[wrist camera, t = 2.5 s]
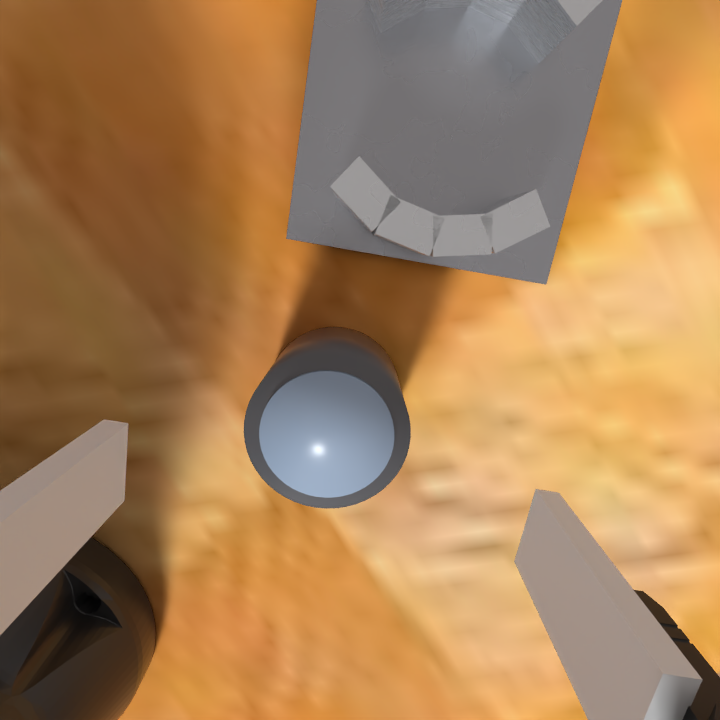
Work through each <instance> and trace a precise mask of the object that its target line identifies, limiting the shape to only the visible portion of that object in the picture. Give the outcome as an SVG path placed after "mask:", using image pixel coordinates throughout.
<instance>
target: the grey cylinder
mask: <svg viewBox="0 0 720 720" xmlns="http://www.w3.org/2000/svg"><path fill="white" fill-rule="evenodd" d="M244 438H245V444H246V449H247V452H248V455H249V457H250V460H251V462H252V464H253V466H254V467H255V469H256V471H257V472H258V473H259V475H260V476H261V478H262V479H263V480H264V481H265V482H266V483H267V484H268V485H269V486H270V487H271V488H273V489H274V490H275V491H276V492H278V493H279V494H281V495H283V496H284V497H286V498H288V499H290V500H292V501H294V502H297V503H300V504H303V505H306V506H311V507H316V508H340V507H347V506H350V505H354V504H357V503H360V502H362V501H365V500H367V499H369V498H371V497H372V496H374V495H376V494H377V493H379V492H380V491H381V490H383V489H384V488H385V487H386V486H387V485H388V484H389V483H390V482H391V481H392V480H393V479H394V477H395V476H396V475H397V473H398V472H399V470H400V469H401V467H402V465H403V463H404V461H405V458H406V456H407V452H408V449H409V444H410V421H409V415H408V412H407V408H406V405H405V401H404V398H403V394H402V391H401V387H400V384H399V380H398V377H397V373H396V370H395V367H394V365H393V363H392V361H391V359H390V357H389V356H388V354H387V353H386V352H385V351H384V349H383V348H382V347H381V346H380V345H379V344H378V343H377V342H375V341H374V340H373V339H371V338H370V337H368V336H366V335H365V334H363V333H361V332H358V331H355V330H352V329H348V328H342V327H325V328H319V329H315V330H312V331H309V332H307V333H305V334H302V335H301V336H299V337H298V338H296V339H295V340H293V341H292V342H291V343H290V344H289V345H288V346H287V347H286V348H285V349H284V350H283V351H282V353H281V354H280V356H279V357H278V358H277V360H276V361H275V363H274V364H273V366H272V367H271V369H270V370H269V371H268V373H267V374H266V376H265V377H264V379H263V380H262V382H261V383H260V385H259V386H258V387H257V389H256V390H255V392H254V394H253V396H252V398H251V400H250V402H249V404H248V407H247V410H246V415H245V420H244Z"/></svg>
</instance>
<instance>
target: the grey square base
mask: <svg viewBox="0 0 720 720" xmlns="http://www.w3.org/2000/svg"><path fill="white" fill-rule="evenodd" d="M621 3H622V0H317V4H316V12H315V20H314V27H313V35H312V43H311V51H310V59H309V66H308V74H307V82H306V90H305V97H304V105H303V113H302V121H301V128H300V136H299V144H298V152H297V159H296V167H295V175H294V183H293V190H292V198H291V206H290V214H289V222H288V229H287V237H286V239H292V240H297V241H303V242H309V243H314V244H320V245H326V246H331V247H337V248H343V249H348V250H354V251H360V252H365V253H371V254H377V255H382V256H388V257H394V258H399V259H405V260H411V261H416V262H422V263H428V264H433V265H439V266H445V267H450V268H456V269H462V270H467V271H473V272H479V273H484V274H490V275H496V276H501V277H507V278H513V279H518V280H524V281H530V282H535V283H541V284H546V283H547V279H548V276H549V272H550V268H551V264H552V261H553V257H554V253H555V249H556V246H557V242H558V238H559V235H560V231H561V227H562V223H563V220H564V216H565V212H566V208H567V205H568V201H569V197H570V193H571V190H572V186H573V182H574V178H575V175H576V171H577V167H578V164H579V160H580V156H581V152H582V149H583V145H584V141H585V137H586V134H587V130H588V126H589V122H590V119H591V115H592V111H593V107H594V104H595V100H596V96H597V93H598V89H599V85H600V81H601V78H602V74H603V70H604V66H605V63H606V59H607V55H608V51H609V48H610V44H611V40H612V37H613V33H614V29H615V25H616V22H617V18H618V14H619V10H620V7H621Z"/></svg>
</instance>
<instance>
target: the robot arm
mask: <svg viewBox="0 0 720 720" xmlns="http://www.w3.org/2000/svg"><path fill="white" fill-rule="evenodd" d="M128 424H129V423H124V422H118V421H112V420H105V419H104V420H102V421H101V422H99V423H98V424H96V425H95V426H93V427H92V428H91V429H89V430H88V431H86V432H85V433H83V434H82V435H80V436H79V437H77V438H76V439H75V440H73V441H72V442H70V443H69V444H67V445H66V446H64V447H63V448H61V449H60V450H59V451H57V452H56V453H54V454H53V455H51V456H50V457H48V458H47V459H45V460H44V461H43V462H41V463H40V464H38V465H37V466H35V467H34V468H32V469H31V470H29V471H28V472H27V473H25V474H24V475H22V476H21V477H19V478H18V479H16V480H15V481H13V482H12V483H11V484H9V485H8V486H6V487H5V488H3V489H2V490H0V720H118V719H119V718H120V716H121V715H122V714H123V713H124V711H125V710H126V708H127V707H128V705H129V704H130V702H131V701H132V699H133V697H134V695H135V693H136V691H137V689H138V687H139V685H140V683H141V681H142V679H143V677H144V675H145V673H146V671H147V669H148V667H149V665H150V662H151V659H152V656H153V652H154V648H155V638H156V631H155V621H154V616H153V612H152V608H151V605H150V603H149V600H148V598H147V595H146V594H145V592H144V590H143V588H142V586H141V585H140V583H139V581H138V580H137V578H136V577H135V576H134V574H133V573H132V572H131V571H130V569H129V568H128V567H127V566H126V565H125V564H124V563H123V562H122V561H121V560H120V559H119V558H118V557H117V556H116V555H115V554H114V553H112V552H111V551H110V550H109V549H107V548H106V547H105V546H103V545H102V544H100V543H99V542H97V541H96V540H94V539H92V538H91V536H92V535H93V534H94V533H95V532H96V531H97V530H98V529H99V528H100V527H101V526H102V525H103V523H104V522H105V521H106V520H107V519H108V518H109V517H110V516H111V515H112V514H113V513H114V511H115V510H116V509H117V508H118V507H119V506H120V505H121V504H122V503H123V502H124V501H125V482H126V462H127V443H128ZM514 562H515V564H516V566H517V568H518V570H519V573H520V575H521V577H522V579H523V581H524V583H525V585H526V588H527V590H528V592H529V594H530V596H531V598H532V600H533V603H534V605H535V607H536V609H537V611H538V613H539V615H540V618H541V620H542V622H543V624H544V626H545V628H546V630H547V633H548V635H549V637H550V639H551V641H552V643H553V645H554V648H555V650H556V652H557V654H558V656H559V658H560V660H561V663H562V665H563V667H564V669H565V671H566V673H567V675H568V678H569V680H570V682H571V684H572V686H573V688H574V690H575V693H576V695H577V697H578V699H579V701H580V703H581V705H582V708H583V710H584V712H585V714H586V716H587V718H588V720H720V677H719V676H718V675H717V673H716V672H715V671H714V670H713V668H712V667H711V666H710V665H709V664H708V662H707V661H706V660H705V659H704V657H703V656H702V655H701V654H700V652H699V651H698V650H697V649H696V648H695V646H694V645H693V644H690V642H689V639H688V638H687V636H686V635H685V634H684V633H683V632H682V630H681V629H678V627H677V626H678V625H677V624H676V623H675V622H674V620H673V619H672V618H671V617H670V616H669V614H668V613H667V612H666V611H665V609H664V608H663V607H662V606H660V605H659V604H658V603H657V602H655V601H654V600H653V599H652V598H651V597H649V596H648V595H647V594H646V593H644V592H643V591H637V590H633V589H632V587H631V586H630V585H629V583H628V582H627V581H626V579H625V578H624V577H623V576H622V574H621V573H620V572H619V570H618V569H617V568H616V566H615V565H614V564H613V563H612V561H611V560H610V559H609V557H608V556H607V555H606V554H605V552H604V551H603V550H602V548H601V547H600V546H599V544H598V543H597V542H596V541H595V539H594V538H593V537H592V535H591V534H590V533H589V531H588V530H587V529H586V528H585V526H584V525H583V524H582V522H581V521H580V520H579V518H578V517H577V516H576V515H575V513H574V512H573V511H572V509H571V508H570V507H569V505H568V504H567V503H566V502H565V500H564V499H563V498H562V496H561V495H560V494H559V493H557V492H551V491H545V490H538V489H536V490H535V493H534V497H533V500H532V503H531V507H530V510H529V514H528V517H527V520H526V524H525V527H524V531H523V534H522V537H521V541H520V544H519V547H518V551H517V554H516V558H515V561H514Z"/></svg>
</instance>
